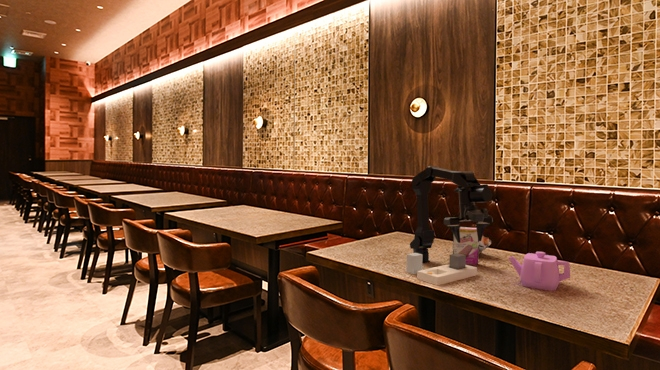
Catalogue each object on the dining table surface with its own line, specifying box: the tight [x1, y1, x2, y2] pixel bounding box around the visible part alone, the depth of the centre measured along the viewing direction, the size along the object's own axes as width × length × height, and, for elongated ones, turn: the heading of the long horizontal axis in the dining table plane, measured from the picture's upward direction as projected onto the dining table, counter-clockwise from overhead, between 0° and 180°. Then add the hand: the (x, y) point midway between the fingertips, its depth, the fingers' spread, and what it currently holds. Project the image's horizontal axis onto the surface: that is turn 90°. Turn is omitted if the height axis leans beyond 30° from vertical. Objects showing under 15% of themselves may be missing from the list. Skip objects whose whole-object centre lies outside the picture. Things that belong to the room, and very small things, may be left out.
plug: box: [405, 252, 423, 275], centre depth 166 cm, size 4×5×8 cm
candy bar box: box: [452, 226, 480, 266], centre depth 182 cm, size 11×5×16 cm, turn 71°
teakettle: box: [508, 251, 571, 292], centre depth 153 cm, size 17×17×12 cm
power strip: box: [416, 263, 478, 286], centre depth 160 cm, size 10×24×4 cm, turn 125°
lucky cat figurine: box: [479, 235, 492, 254], centre depth 201 cm, size 15×12×14 cm
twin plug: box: [448, 253, 466, 270], centre depth 163 cm, size 4×5×8 cm
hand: (469, 241), depth 161 cm, fingers open, 9 cm apart
